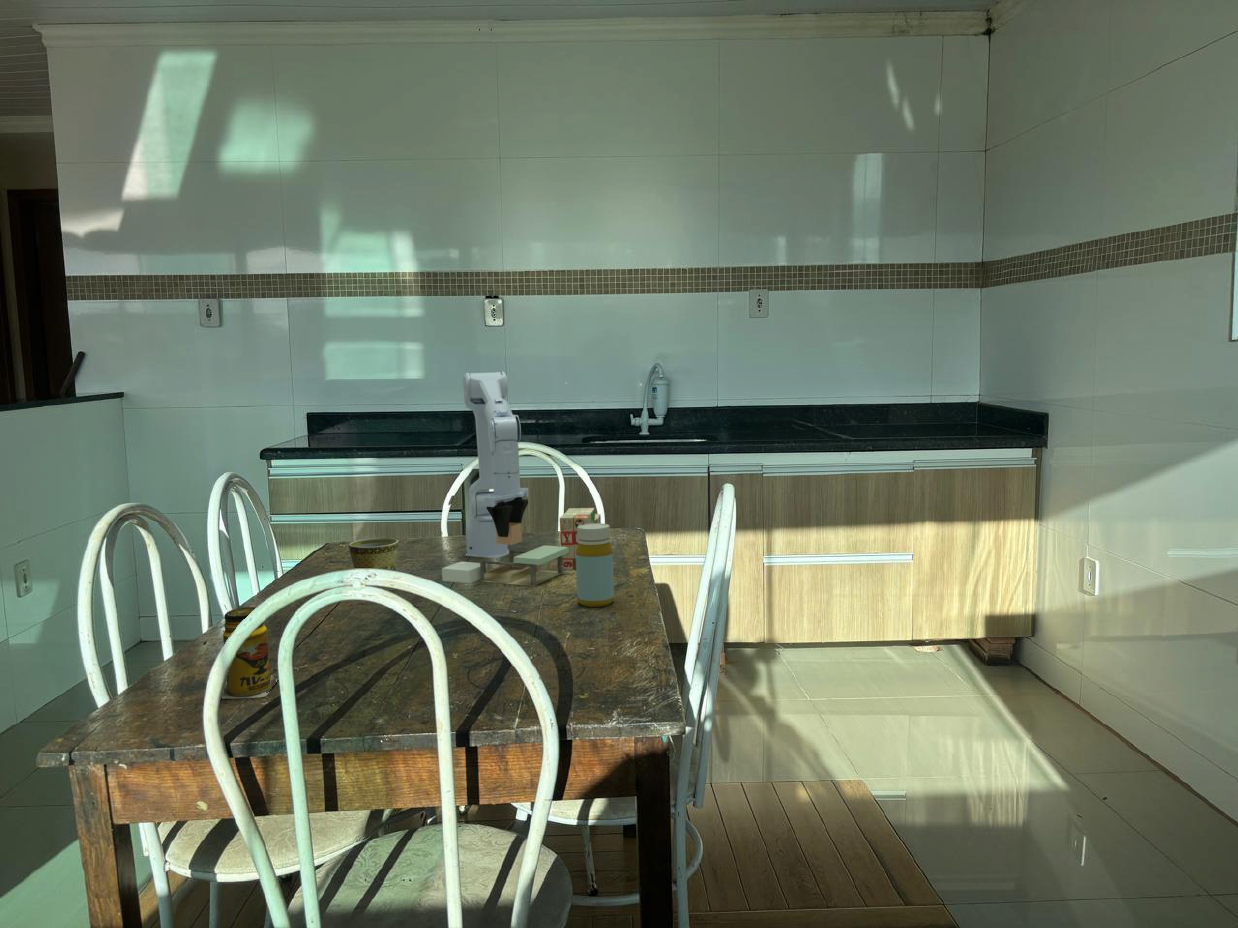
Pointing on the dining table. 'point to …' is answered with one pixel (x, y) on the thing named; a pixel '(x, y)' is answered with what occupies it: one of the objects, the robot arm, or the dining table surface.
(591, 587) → the bottle
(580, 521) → the stack of blocks
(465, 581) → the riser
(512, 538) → the block
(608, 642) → the dining table surface
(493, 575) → the grey frame
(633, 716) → the dining table surface
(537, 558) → the lid
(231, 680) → the condiment
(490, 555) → the robot arm
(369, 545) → the ceramic cup
